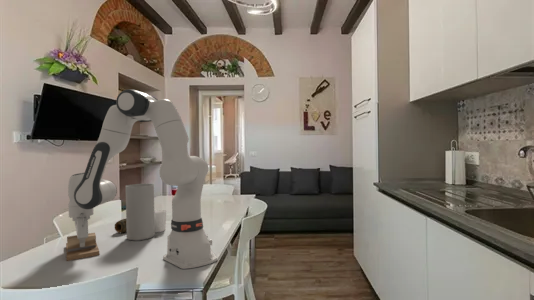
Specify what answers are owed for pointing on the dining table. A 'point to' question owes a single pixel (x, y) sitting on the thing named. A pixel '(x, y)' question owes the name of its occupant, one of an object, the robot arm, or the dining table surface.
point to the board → (82, 253)
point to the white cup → (160, 220)
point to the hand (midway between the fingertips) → (81, 244)
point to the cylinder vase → (140, 211)
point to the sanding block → (74, 242)
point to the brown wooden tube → (121, 226)
